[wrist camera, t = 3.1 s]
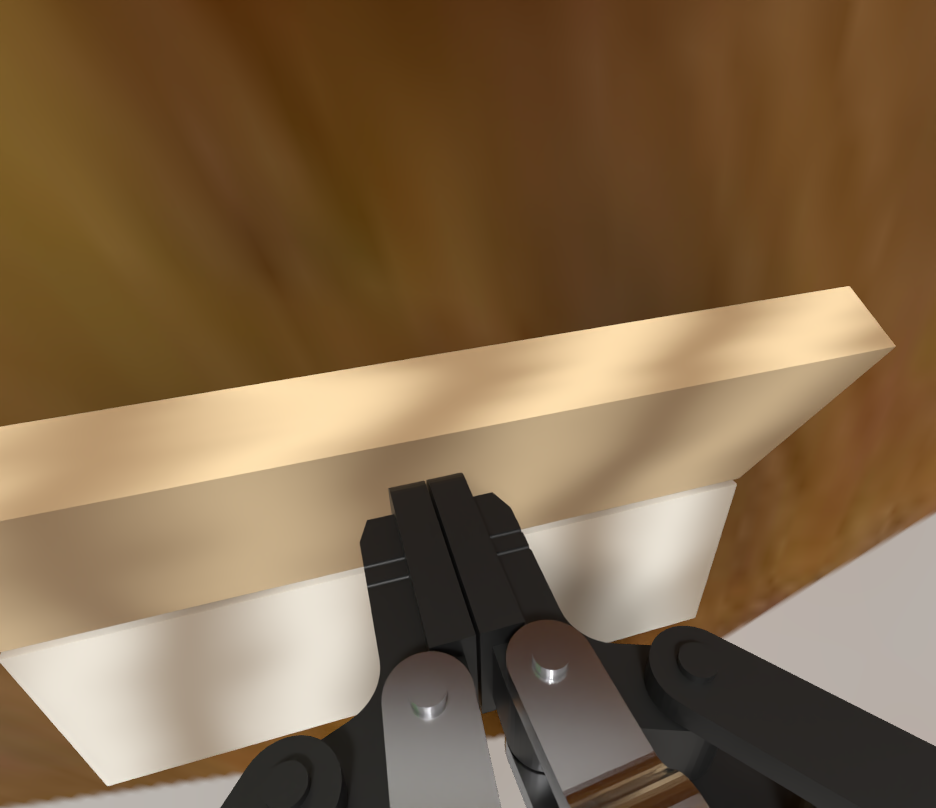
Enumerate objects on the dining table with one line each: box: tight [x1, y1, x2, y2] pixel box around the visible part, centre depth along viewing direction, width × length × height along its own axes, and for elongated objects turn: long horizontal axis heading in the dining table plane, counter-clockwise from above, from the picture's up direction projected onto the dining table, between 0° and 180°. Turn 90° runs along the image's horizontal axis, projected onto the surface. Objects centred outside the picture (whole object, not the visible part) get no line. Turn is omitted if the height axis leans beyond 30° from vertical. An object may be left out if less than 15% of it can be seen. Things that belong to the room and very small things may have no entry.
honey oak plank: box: [0, 286, 896, 652], centre depth 16 cm, size 24×8×2 cm, turn 92°
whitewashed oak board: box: [0, 480, 737, 786], centre depth 22 cm, size 24×8×2 cm, turn 92°
